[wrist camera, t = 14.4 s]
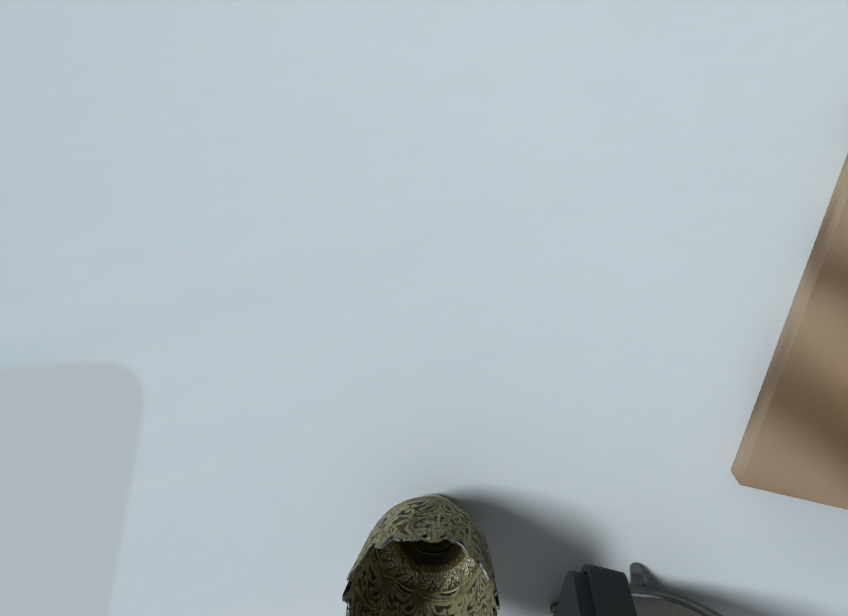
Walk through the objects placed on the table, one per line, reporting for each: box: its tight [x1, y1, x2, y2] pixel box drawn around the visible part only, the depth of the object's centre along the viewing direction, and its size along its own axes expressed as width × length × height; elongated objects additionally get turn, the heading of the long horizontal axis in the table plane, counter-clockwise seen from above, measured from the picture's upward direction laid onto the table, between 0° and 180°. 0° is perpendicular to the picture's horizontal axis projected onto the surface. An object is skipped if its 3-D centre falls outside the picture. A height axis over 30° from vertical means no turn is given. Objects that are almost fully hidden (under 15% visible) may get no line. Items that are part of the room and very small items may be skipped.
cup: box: [342, 495, 499, 616], centre depth 39 cm, size 8×7×8 cm
